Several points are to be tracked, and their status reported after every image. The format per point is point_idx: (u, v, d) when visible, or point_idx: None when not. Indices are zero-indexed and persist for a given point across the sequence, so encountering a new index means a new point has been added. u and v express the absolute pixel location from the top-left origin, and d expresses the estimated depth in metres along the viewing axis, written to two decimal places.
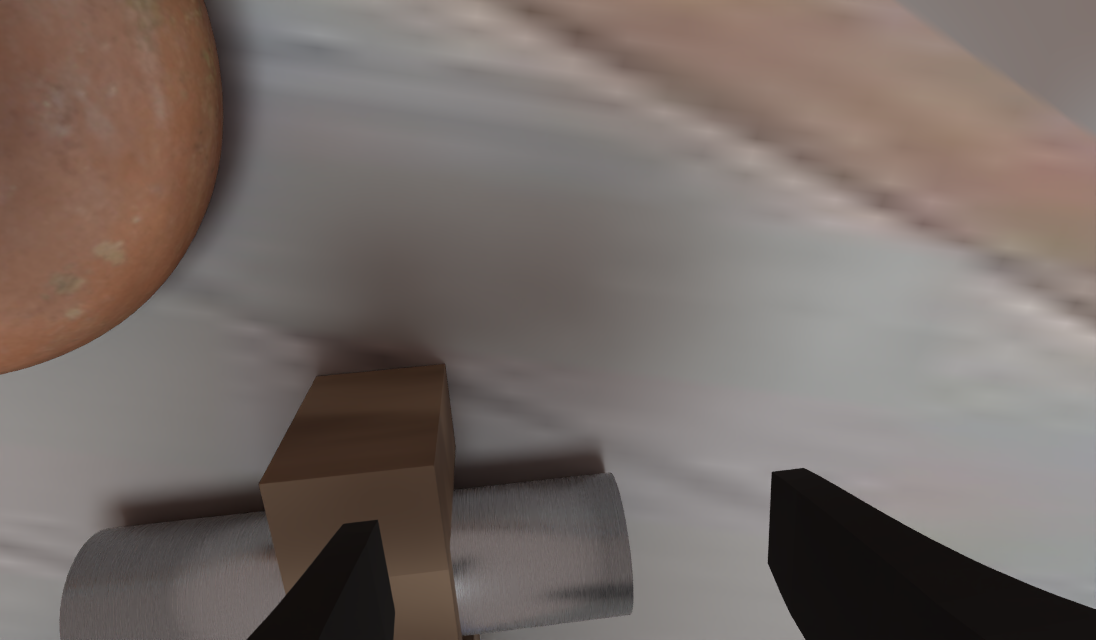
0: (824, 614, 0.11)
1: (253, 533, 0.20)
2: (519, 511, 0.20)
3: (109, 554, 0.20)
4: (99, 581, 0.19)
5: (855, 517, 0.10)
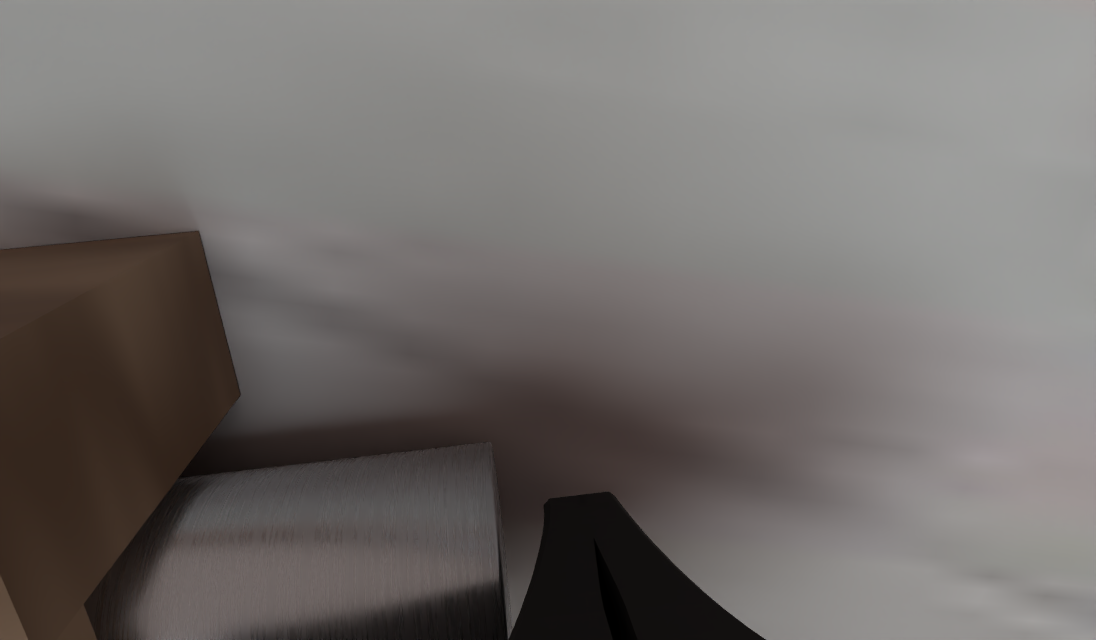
0: None
1: None
2: (280, 507, 0.10)
3: None
4: None
5: (620, 547, 0.10)
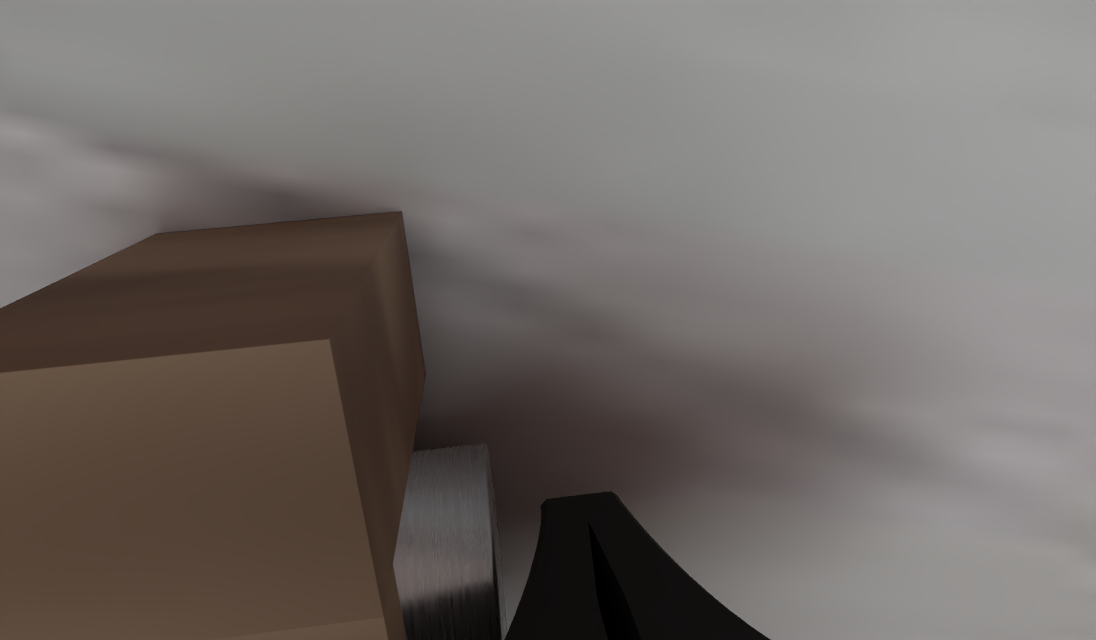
0: None
1: None
2: None
3: None
4: None
5: (623, 546, 0.10)
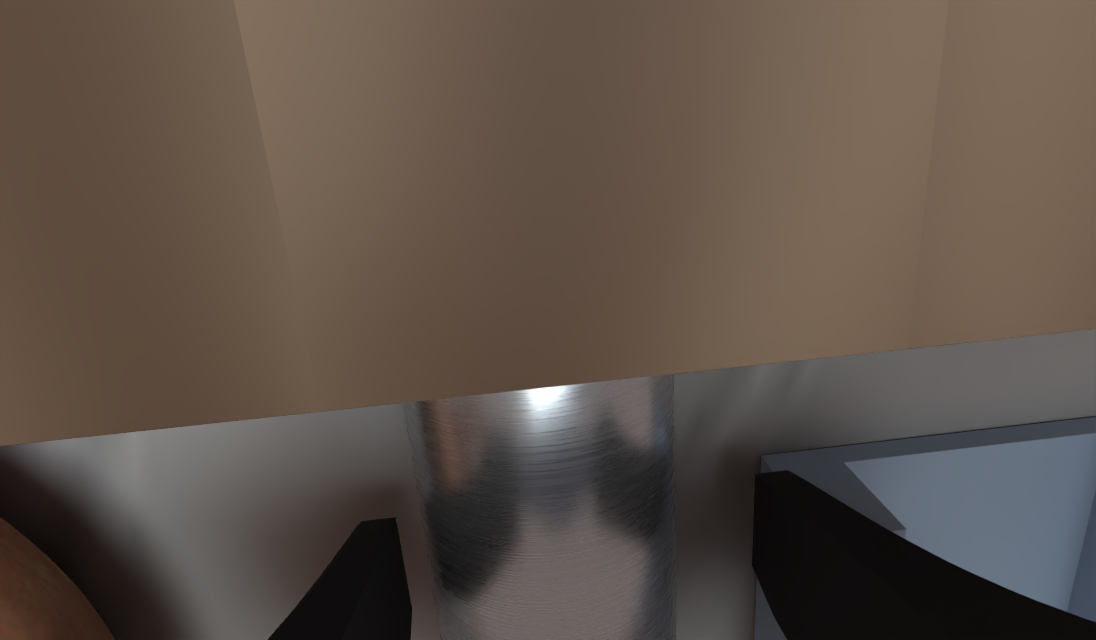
0: (805, 616, 0.11)
1: None
2: None
3: None
4: None
5: (835, 520, 0.10)
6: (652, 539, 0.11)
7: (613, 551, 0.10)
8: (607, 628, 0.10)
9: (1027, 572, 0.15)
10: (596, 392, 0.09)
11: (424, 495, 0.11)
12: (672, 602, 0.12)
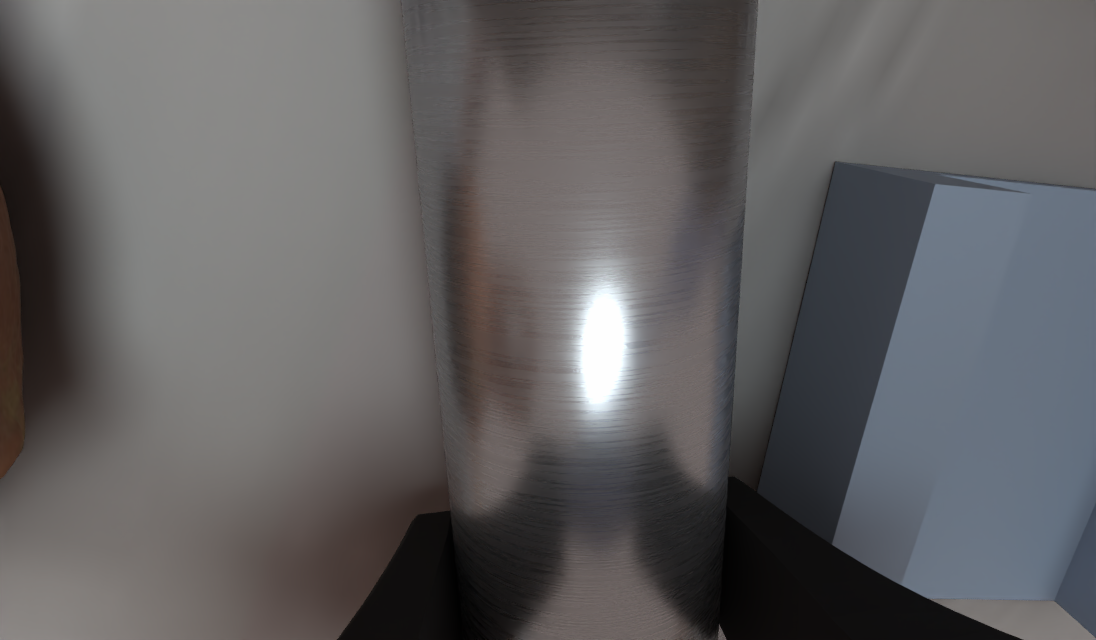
0: (745, 625, 0.11)
1: None
2: (417, 132, 0.08)
3: None
4: None
5: (771, 528, 0.10)
6: (724, 522, 0.10)
7: (704, 540, 0.10)
8: (694, 623, 0.10)
9: None
10: (707, 370, 0.09)
11: (489, 515, 0.09)
12: None
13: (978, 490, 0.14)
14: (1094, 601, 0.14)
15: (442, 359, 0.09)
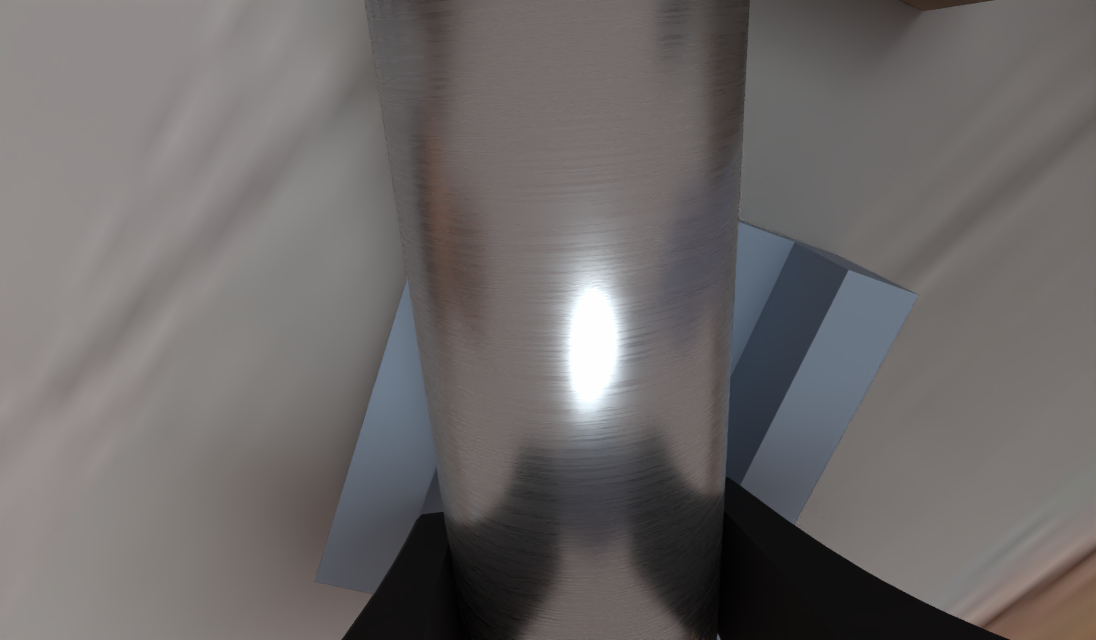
0: (738, 625, 0.11)
1: None
2: (391, 163, 0.08)
3: None
4: None
5: (764, 529, 0.10)
6: (720, 539, 0.10)
7: (699, 562, 0.09)
8: None
9: None
10: (698, 401, 0.08)
11: (481, 544, 0.09)
12: None
13: None
14: None
15: (428, 390, 0.09)
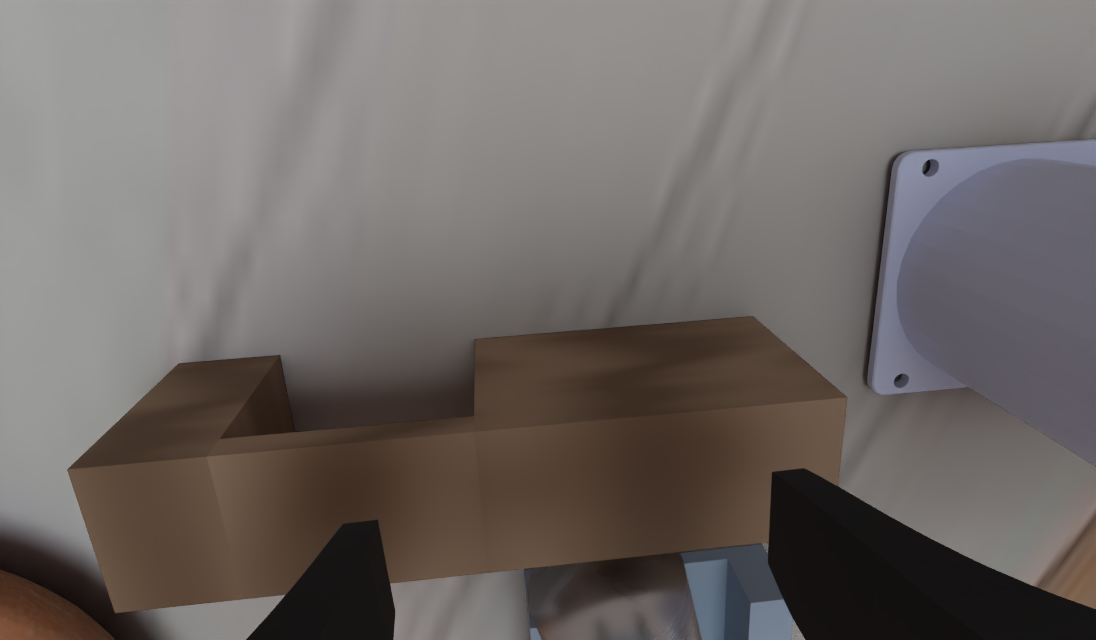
0: (824, 615, 0.11)
1: None
2: None
3: None
4: None
5: (855, 517, 0.10)
6: None
7: None
8: None
9: None
10: None
11: None
12: None
13: None
14: None
15: None
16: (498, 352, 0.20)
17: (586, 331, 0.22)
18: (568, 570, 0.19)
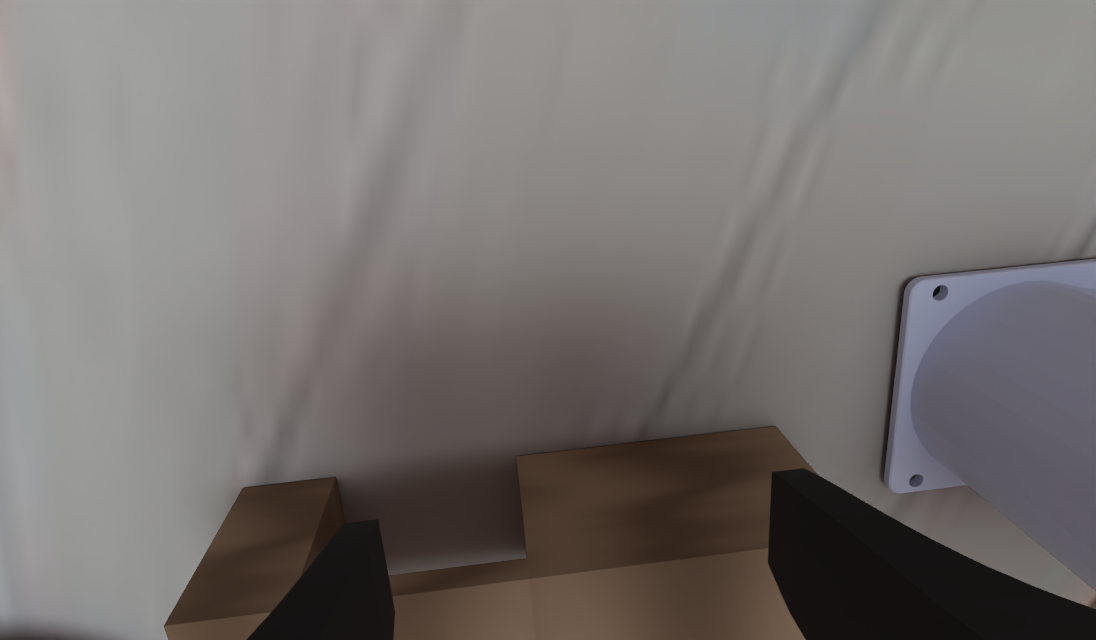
0: (824, 614, 0.11)
1: None
2: None
3: None
4: None
5: (855, 517, 0.10)
6: None
7: None
8: None
9: None
10: None
11: None
12: None
13: None
14: None
15: None
16: (540, 474, 0.22)
17: (620, 445, 0.23)
18: None
